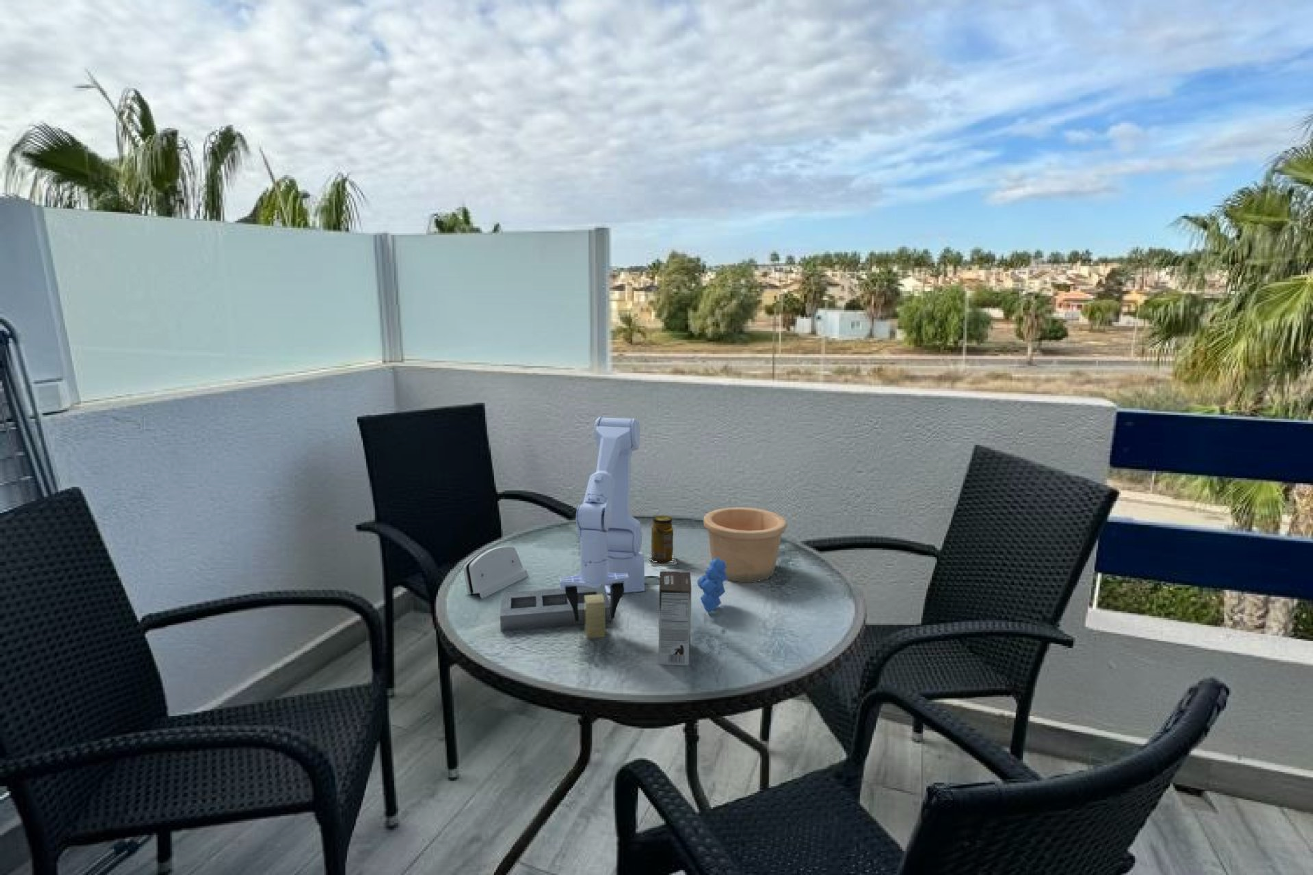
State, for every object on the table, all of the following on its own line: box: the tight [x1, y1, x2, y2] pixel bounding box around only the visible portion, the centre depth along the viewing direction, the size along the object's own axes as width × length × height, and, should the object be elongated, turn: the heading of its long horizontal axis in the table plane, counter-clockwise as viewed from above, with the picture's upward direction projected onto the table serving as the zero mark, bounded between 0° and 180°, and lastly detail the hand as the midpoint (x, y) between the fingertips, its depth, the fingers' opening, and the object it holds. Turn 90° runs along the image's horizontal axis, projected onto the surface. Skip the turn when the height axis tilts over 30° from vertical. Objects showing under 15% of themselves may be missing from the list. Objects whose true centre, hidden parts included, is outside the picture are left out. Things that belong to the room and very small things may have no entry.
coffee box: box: [658, 570, 692, 666], centre depth 132 cm, size 9×6×16 cm
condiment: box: [646, 515, 679, 567], centre depth 182 cm, size 7×8×12 cm
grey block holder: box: [499, 586, 611, 632], centre depth 150 cm, size 24×12×4 cm, turn 101°
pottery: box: [703, 506, 788, 583], centre depth 175 cm, size 22×22×14 cm
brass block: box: [584, 594, 606, 639], centre depth 141 cm, size 4×4×8 cm
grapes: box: [696, 558, 727, 613], centre depth 153 cm, size 12×7×12 cm, turn 154°
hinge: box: [462, 546, 529, 599], centre depth 166 cm, size 17×5×10 cm, turn 148°
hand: (594, 617), depth 141 cm, fingers open, 7 cm apart
